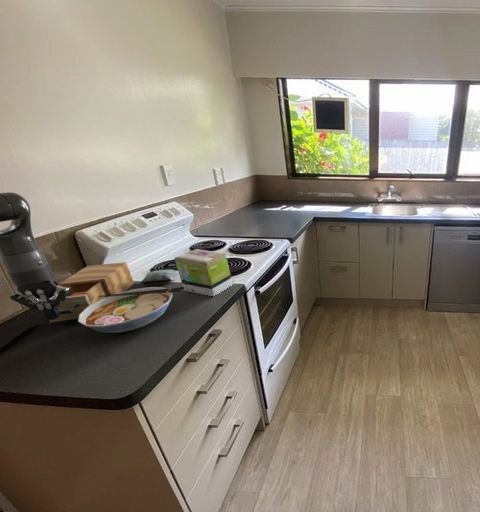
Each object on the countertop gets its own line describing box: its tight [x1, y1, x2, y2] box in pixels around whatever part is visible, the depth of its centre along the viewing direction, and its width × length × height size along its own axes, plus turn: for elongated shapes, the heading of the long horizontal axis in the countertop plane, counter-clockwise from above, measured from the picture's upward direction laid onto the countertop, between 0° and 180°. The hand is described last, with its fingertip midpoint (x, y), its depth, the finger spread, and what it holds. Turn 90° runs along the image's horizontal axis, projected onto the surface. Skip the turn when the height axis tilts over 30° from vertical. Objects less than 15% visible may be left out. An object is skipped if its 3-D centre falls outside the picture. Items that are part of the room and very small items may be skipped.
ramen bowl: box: [77, 286, 184, 334], centre depth 91 cm, size 25×23×8 cm
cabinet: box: [59, 261, 135, 297], centre depth 108 cm, size 16×13×10 cm
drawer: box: [41, 281, 109, 323], centre depth 96 cm, size 19×11×8 cm, turn 18°
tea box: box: [174, 248, 234, 298], centre depth 111 cm, size 15×10×15 cm, turn 73°
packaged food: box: [139, 269, 179, 286], centre depth 119 cm, size 9×12×5 cm
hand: (54, 318), depth 86 cm, fingers closed
